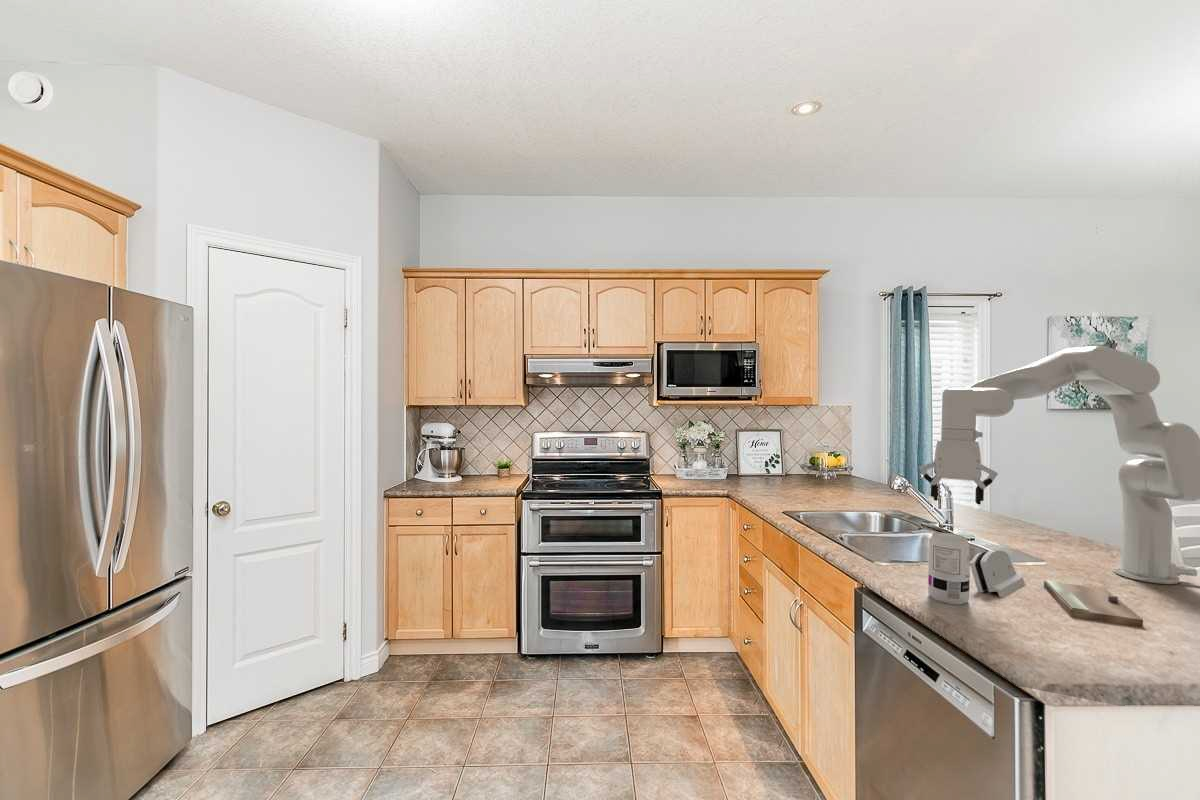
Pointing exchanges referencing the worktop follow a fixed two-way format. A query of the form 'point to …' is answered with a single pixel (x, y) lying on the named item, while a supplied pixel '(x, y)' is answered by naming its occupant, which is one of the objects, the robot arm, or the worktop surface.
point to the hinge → (995, 573)
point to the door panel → (1092, 603)
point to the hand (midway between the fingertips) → (956, 501)
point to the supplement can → (949, 568)
